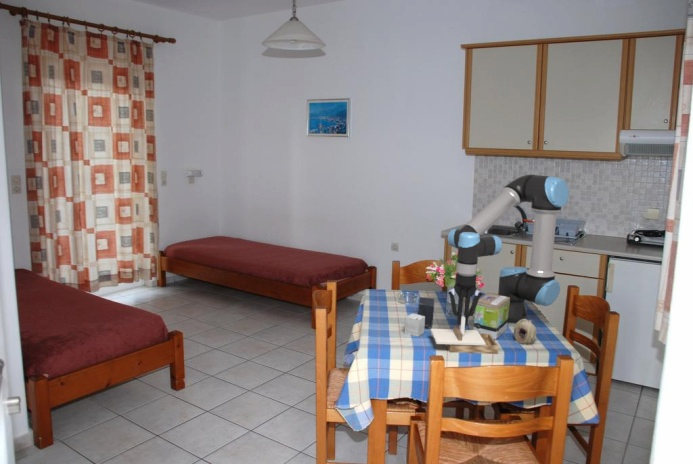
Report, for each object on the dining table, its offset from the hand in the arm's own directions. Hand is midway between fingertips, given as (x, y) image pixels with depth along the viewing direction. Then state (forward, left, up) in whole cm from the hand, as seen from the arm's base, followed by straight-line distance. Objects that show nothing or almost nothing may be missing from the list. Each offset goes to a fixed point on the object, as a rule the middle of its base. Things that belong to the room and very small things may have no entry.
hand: (461, 333), depth 213 cm
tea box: (-16, -16, -6) cm, 23 cm away
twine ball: (-27, -6, -6) cm, 28 cm away
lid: (+1, 0, -2) cm, 2 cm away
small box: (+10, -23, -6) cm, 26 cm away
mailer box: (-4, 0, -5) cm, 6 cm away
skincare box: (+16, -12, -6) cm, 21 cm away
